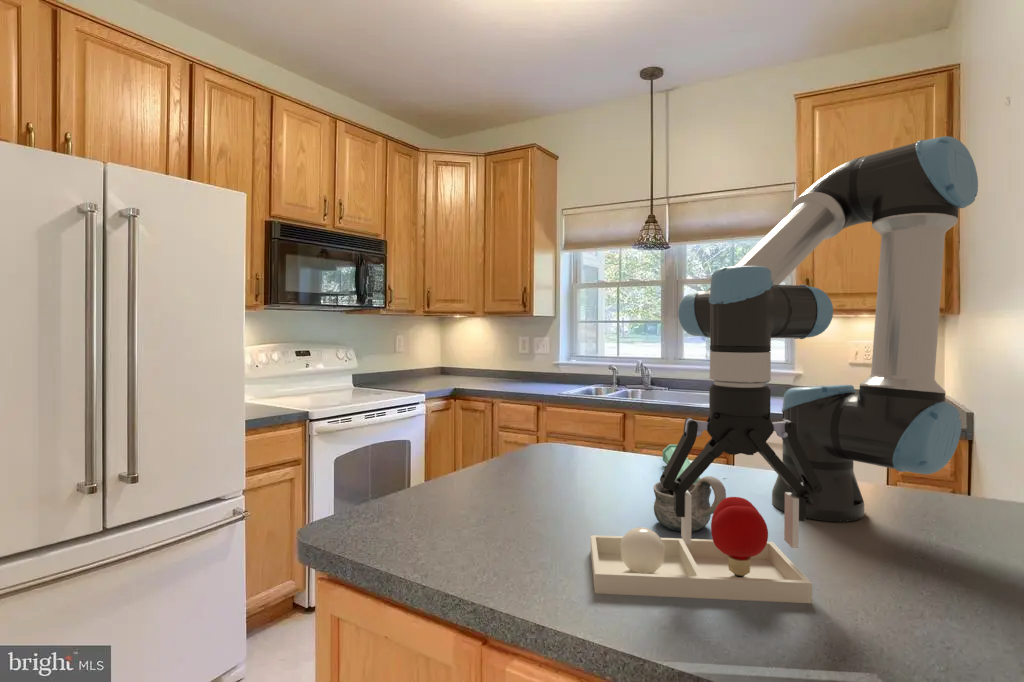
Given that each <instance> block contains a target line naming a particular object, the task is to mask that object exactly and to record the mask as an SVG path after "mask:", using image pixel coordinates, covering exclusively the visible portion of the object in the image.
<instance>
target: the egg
mask: <svg viewBox="0 0 1024 682" xmlns="http://www.w3.org/2000/svg"><path fill="white" fill-rule="evenodd" d="M623 536H624V537H623V538H622V540H621V544H620V554H621V558H622V560H623V562H624V564H625V565H626V566H627V567H628V568H629V569H630V570H632V571H633V572H635V573H640V574H651V573H653V572H655V571H657V570H658V569H659V568H660V567H661V565H662V564H663V561H664V558H665V547H664V544H663V542H662V540H661V538H662V537H661V536H659V535H658V533H656V532H655V531H654V530H653V529H650V528H648V527H644V526H641V527H634V528H631V529H630V530H628V531H627V532H626V533H625V534H624V535H623Z"/></svg>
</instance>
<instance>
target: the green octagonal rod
mask: <svg viewBox="0 0 1024 682" xmlns="http://www.w3.org/2000/svg"><path fill="white" fill-rule="evenodd" d="M677 445H678V444H668V445H667V446H666V447H665V448H664V449H663V450H662V461H663V462H664V463H665V464H666V465H667V464H668V462H669V460H670V458H671V456H672V454H673V452H674V450H675V449H676V447H677ZM691 463H692V462H691V461H690V460H689V458H688V457H687V458H686V460H685V462H684V464H683V466H682V468H681V470H680V472H679V474H678V475H677V477H676V479H677V478H678V477H679V476H680V475H681V474H682V473H683V471H684V470H685V469H686V468H687V467H688V466H689V465H690V464H691ZM676 479H675V480H676ZM700 479H701V478H700V476H699V478H698V479H697V480H696V481H695V482H694V483H693V484H696V483H697V482H698V481H699V480H700Z"/></svg>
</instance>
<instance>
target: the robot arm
mask: <svg viewBox="0 0 1024 682" xmlns="http://www.w3.org/2000/svg"><path fill="white" fill-rule="evenodd" d="M978 191H979V179H978V172H977V167H976V164H975V162H974V160H973V157H972V155H971V153H970V151H969V150H968V148H967V147H966V145H965V144H964V143H963V142H962V141H960V140H959V139H957V138H956V137H953V136H948V135H946V136H944V135H943V136H940V137H934V138H929V139H920V140H918V141H917V142H916V141H915V142H912V143H909V144H907V145H903V146H899V147H898V146H897V147H895V148H892V149H888V150H884V151H880V152H877V153H872V154H869V155H865V156H860V157H857V158H854V159H851V160H849V161H847V162H845V163H843V164H841V165H839V166H838V167H836V168H834V169H832V170H831V171H829V172H828V173H827V174H825V175H824V176H822V177H820V179H818V180H817V181H816V182H813V184H812V185H811V186H809V187H808V188H807V189H806V190H805V191H804V192H802V193H801V195H799V196H798V197H797V198H796V199H795V200H794V202H793V203H792V205H791V208H790V212H789V213H788V214H787V215H786V216H785V217H784V218H783V219H782V220H781V221H780V222H778V224H777V225H775V227H773V228H772V229H771V230H770V231H769V232H768V233H766V235H765V236H764V237H762V239H761V240H759V241H758V242H757V244H755V245H754V246H753V247H752V248H751V249H750V250H749V251H748V252H746V254H745V255H744V256H743V257H742V258H740V259H739V260H738V261H737V262H736V264H734V265H733V266H727V267H721V268H718V269H716V270H714V272H713V273H712V274H711V278H710V287H709V288H708V289H706V290H698V291H695V292H694V291H693V292H691V293H688V294H686V295H685V296H684V297H683V298H682V300H681V301H680V304H679V306H678V310H677V311H678V312H677V313H678V314H677V315H678V316H677V317H678V321H679V323H680V327H681V328H682V329H683V330H684V332H686V333H687V334H689V335H690V336H693V337H705V338H708V339H709V340H710V341H709V343H710V344H709V380H710V381H713V382H714V383H711V385H710V386H709V392H708V393H709V394H708V395H709V401H708V402H709V403H708V404H709V405H708V406H709V407H708V408H709V411H708V414H709V415H708V417H707V420H706V421H703V420H696V419H693V418H692V417H687V418H685V420H684V425H683V433H682V435H681V437H680V439H679V441H678V443H677V444H676V445H677V447H676V449H675V450H674V452H673V454H672V456H671V458H670V460H669V462H668V464H666V466H665V468H664V470H663V471H662V474H661V476H659V482H661V484H662V485H663V487H664V488H665V489H670V490H672V491H674V512H675V514H676V516H677V517H681V531H680V532H681V533H680V534H681V536H680V537H681V539H683V540H684V542H685V544H691V539H692V532H691V505H692V495H691V494H690V493H689V491H688V489H689V488H690V486H691V485H692V484H693V483H694V482H695V481H696V480H697V479H698V478H699V477H700V476H701V475H703V473H704V472H705V471H706V470H707V469H708V468H709V467H710V465H711V464H713V462H714V461H715V460H716V459H718V458H720V456H721V455H722V454H723V453H725V454H728V455H729V456H730V455H731V456H732V455H735V456H736V455H740V454H741V455H743V454H744V455H746V456H754V454H756V453H758V454H760V455H761V456H762V457H763V459H764V460H765V461H766V463H767V464H768V465H769V466H770V467H771V469H772V470H773V471H775V473H776V474H777V477H776V480H775V483H774V485H773V488H772V492H771V504H772V505H773V506H774V507H775V508H776V509H778V510H780V511H782V512H784V520H783V523H784V527H783V529H784V532H783V533H784V535H783V536H784V538H783V540H784V541H785V543H786V544H788V545H789V546H790V547H791V548H792V549H799V540H800V539H799V538H800V537H799V536H800V535H799V534H800V532H799V529H800V528H799V526H800V521H801V522H805V520H806V519H811V520H817V521H824V522H841V523H842V522H853V521H858V520H860V519H862V518H864V517H865V500H864V498H863V496H862V492H861V490H860V487H859V484H858V481H857V479H856V478H857V477H856V475H855V473H854V462H859V463H865V464H869V465H873V466H878V467H883V468H887V469H893V470H895V471H897V472H901V473H903V472H904V473H905V472H908V473H913V474H914V473H915V474H921V475H931V474H934V473H937V472H939V471H941V470H942V469H944V468H945V467H946V466H947V465H948V463H949V461H950V460H951V459H952V457H953V456H954V454H955V452H956V450H957V447H958V444H959V442H960V439H961V434H962V421H961V420H962V419H961V418H960V416H961V414H960V411H959V409H958V408H957V407H956V406H955V405H953V404H952V403H949V402H947V401H946V390H945V389H944V388H943V387H942V386H941V385H940V384H939V383H938V382H937V381H936V379H935V376H936V361H937V352H938V351H937V347H938V335H939V322H940V320H939V319H940V309H941V308H940V307H941V293H942V280H943V277H942V276H943V265H944V254H945V253H944V252H945V251H944V250H945V237H946V233H947V232H948V231H949V230H950V229H952V228H953V227H955V226H956V225H957V224H958V221H959V210H960V209H965V208H966V207H968V206H971V205H973V203H974V202H975V200H976V197H977V195H978ZM868 222H869V223H871V228H872V229H873V230H875V232H877V233H878V234H879V235H880V237H881V238H880V249H879V250H880V252H879V264H878V265H879V266H878V278H877V292H876V302H875V317H874V318H875V319H874V328H873V329H874V331H873V333H874V334H873V345H872V354H871V356H872V358H871V370H870V371H871V372H870V375H869V377H867V378H866V379H864V380H863V381H861V382H860V383H859V390H858V394H857V391H856V389H855V387H854V386H853V385H852V384H832V385H816V386H813V385H812V386H799V387H798V386H797V387H791V388H789V389H787V390H785V392H784V394H783V399H782V400H783V401H782V402H783V403H782V408H781V412H782V419H781V420H780V421H774V422H772V420H771V395H772V394H771V391H772V390H771V388H770V387H769V386H768V385H766V384H767V383H769V382H771V381H772V374H771V373H772V371H771V370H772V366H771V363H772V362H771V361H772V359H771V358H772V357H771V356H772V355H771V354H772V353H771V351H772V350H771V348H772V347H771V346H772V345H771V343H772V339H795V340H796V339H800V340H805V339H806V338H807V339H808V338H814V337H816V336H817V337H818V336H819V335H821V334H822V333H824V332H825V331H826V330H827V329H828V328H829V326H830V325H831V323H832V320H833V317H834V316H833V315H834V306H833V303H832V300H831V297H829V295H828V294H827V293H826V292H825V291H824V290H822V289H820V288H818V287H815V286H809V285H806V284H804V283H803V284H797V285H796V284H795V285H792V284H782V283H783V281H785V280H786V278H787V277H788V276H789V275H791V273H792V272H793V271H794V270H796V268H798V266H799V265H800V264H802V263H803V261H805V259H806V258H807V257H808V256H809V255H810V254H812V252H813V251H814V250H815V249H816V248H817V247H818V246H820V244H821V243H822V242H823V241H824V240H829V239H831V238H834V237H836V236H837V235H838V234H840V232H841V231H842V230H844V229H847V228H849V227H852V226H856V225H858V224H864V223H865V224H866V223H868ZM704 431H706V432H707V433H708V435H709V436H710V437H711V438H710V439H709V441H708V442H707V443H706V444H705V446H704V448H703V449H702V450H701V451H700V452H699V454H697V456H696V457H694V459H693V460H692V461H691V462H690V463H691V464H690V465H689V466H688V467H687V468H686V469H685V470H684V471H683V473H682V474H681V475H680V476H679V477H678V478H677V479H676V477H677V475H678V474H679V472H680V470H681V468H682V466H683V464H684V462H685V460H686V458H688V457H689V454H690V453H691V450H692V448H693V447H694V444H695V442H696V440H697V438H698V437H701V436H702V433H703V432H704ZM774 432H775V433H776V436H778V437H779V438H781V441H782V460H781V458H780V457H779V456H778V455H777V454H776V452H775V451H774V449H773V448H772V447H771V445H769V444H768V443H767V442H768V440H769V438H771V436H772V435H773V433H774ZM675 479H676V480H675Z"/></svg>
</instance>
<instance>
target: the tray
mask: <svg viewBox="0 0 1024 682" xmlns="http://www.w3.org/2000/svg"><path fill="white" fill-rule="evenodd" d="M623 537H624V535H623V536H621V535H619V536H618V535H594V534H592V535H591V534H590V560H591V569H592V579H593V586H594V587H593V590H594V594H598V595H599V594H603V595H604V594H605V595H620V596H621V595H625V596H626V595H627V596H642V597H644V596H646V597H670V598H671V597H672V598H687V599H688V598H689V599H692V598H693V599H711V600H713V599H714V600H731V601H732V600H733V601H755V602H756V601H757V602H776V603H777V602H778V603H798V604H799V603H800V604H813V583H812V582H811V581H810V579H809V578H807V576H806V575H805V574H804V573H803V572H802V571H801V570H800V569H799V568H798V567H797V565H795V564H794V563H793V561H792V560H791V559H789V557H787V556H786V554H785V553H784V552H782V550H781V549H780V548H779V547H778V546H777V545H776V544H775V543H774V542H773V541H767V544H766V546H765V548H764V549H763V551H762V552H761V553H759V554H758V555H756V556H753V557H750V558H751V559H750V573H748V574H746V575H745V576H743V577H737V576H735V575H734V574H733V573H732V572H731V571H730V570H729V559H728V555H726V554H724V553H723V552H721V551H720V550H719V549H718V548H717V547H716V546H715V544H714V542H713V539H708V538H707V539H705V538H704V539H702V538H691V544H685V542H684V540H683V539H682V537H681V538H679V537H678V538H674V537H660V538H661V540H662V542H663V544H664V547H665V558H664V561H663V564H662V565H661V567H660V568H659V569H658V570H657V571H655V572H653V573H651V574H640V573H635V572H633V571H632V570H630V569H629V568H628V567H627V566H626V565H625V564H624V562H623V560H622V558H621V554H620V544H621V540H622V538H623Z"/></svg>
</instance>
